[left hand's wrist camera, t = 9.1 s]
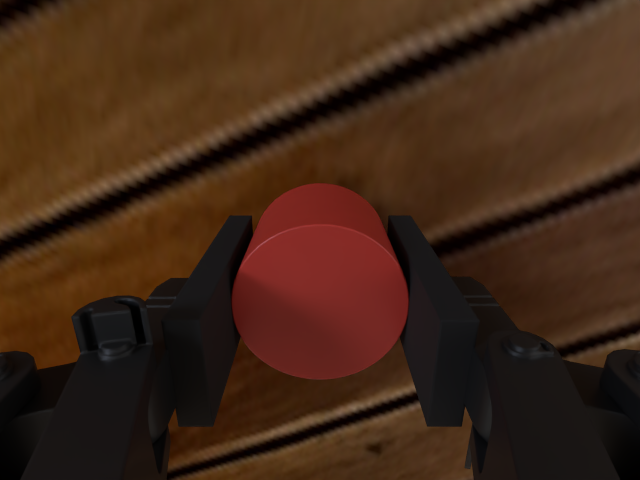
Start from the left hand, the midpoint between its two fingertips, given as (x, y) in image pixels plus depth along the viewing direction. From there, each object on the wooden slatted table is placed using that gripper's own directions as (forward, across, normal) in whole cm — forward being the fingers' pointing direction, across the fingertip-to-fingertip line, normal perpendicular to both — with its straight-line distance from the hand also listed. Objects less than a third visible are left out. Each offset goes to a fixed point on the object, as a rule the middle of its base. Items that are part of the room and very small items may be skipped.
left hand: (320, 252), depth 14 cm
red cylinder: (0, 0, 0) cm, 0 cm away
